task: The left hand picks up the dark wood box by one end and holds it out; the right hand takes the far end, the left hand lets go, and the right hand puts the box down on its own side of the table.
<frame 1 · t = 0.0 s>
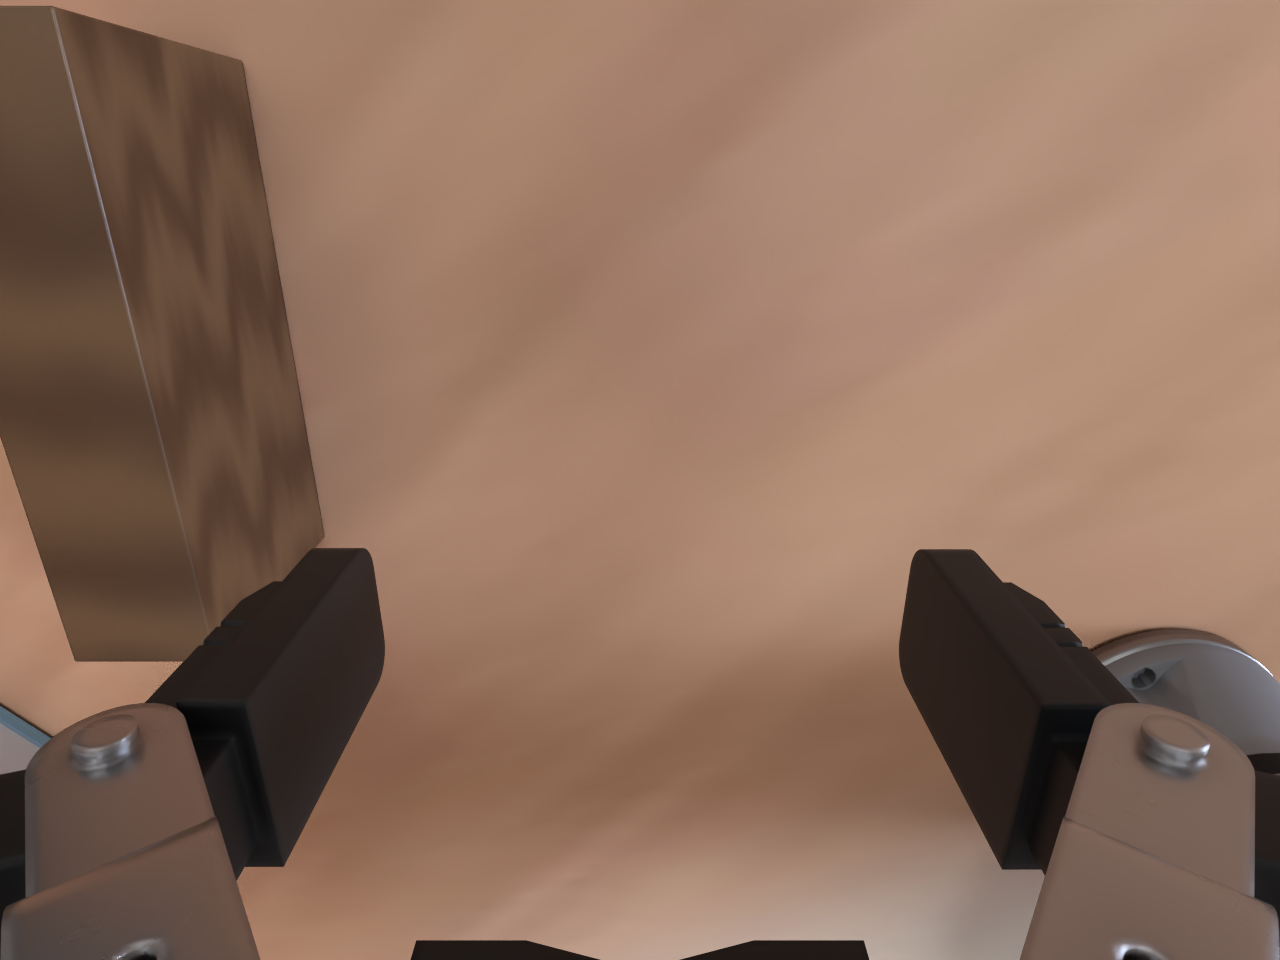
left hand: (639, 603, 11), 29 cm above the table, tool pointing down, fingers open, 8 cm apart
box: (229, 326, 39), on the table
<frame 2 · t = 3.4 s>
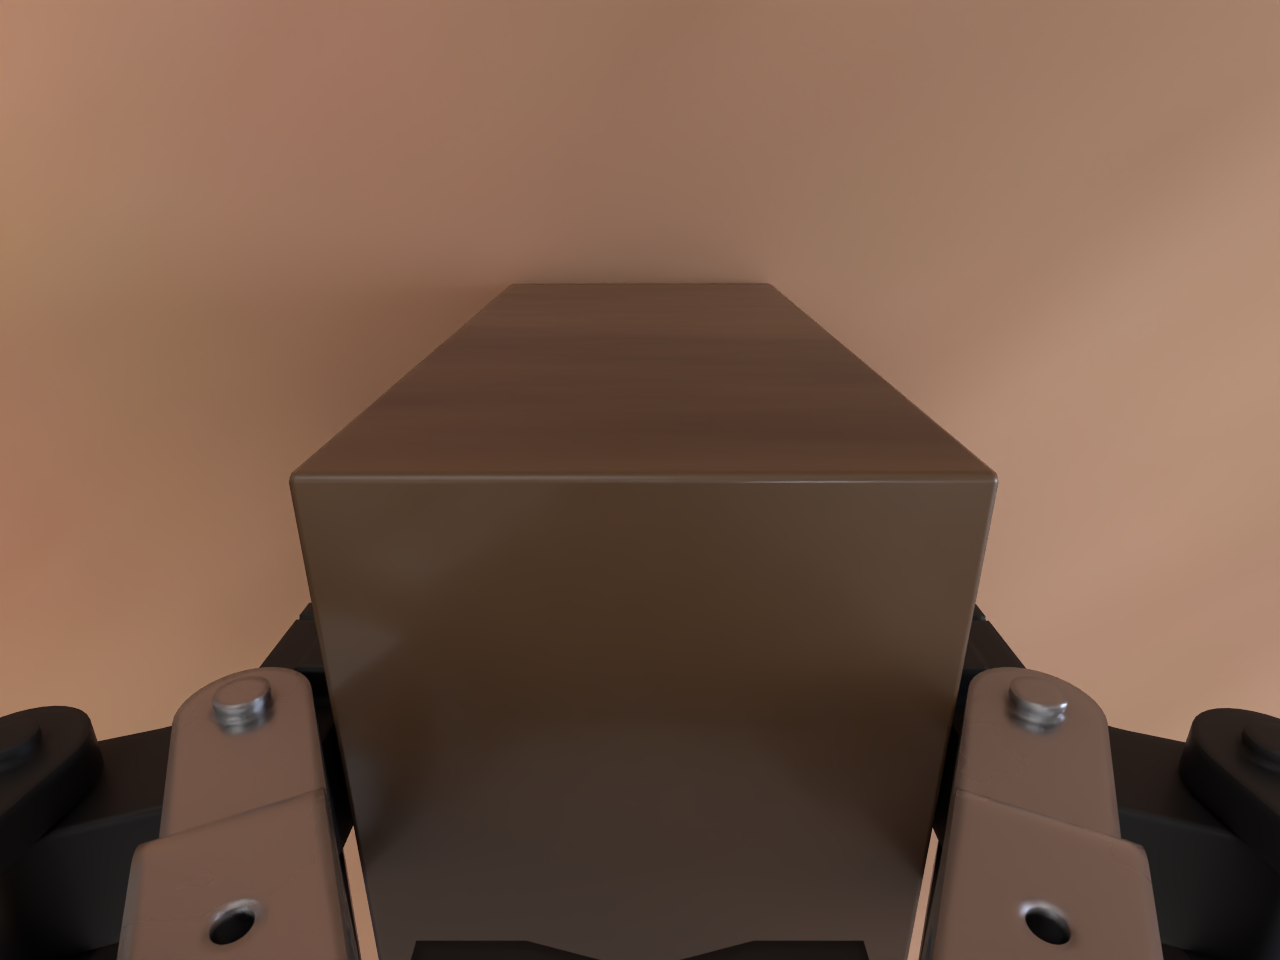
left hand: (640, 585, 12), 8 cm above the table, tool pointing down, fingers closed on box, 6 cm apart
box: (641, 708, 22), on the table, touching left hand
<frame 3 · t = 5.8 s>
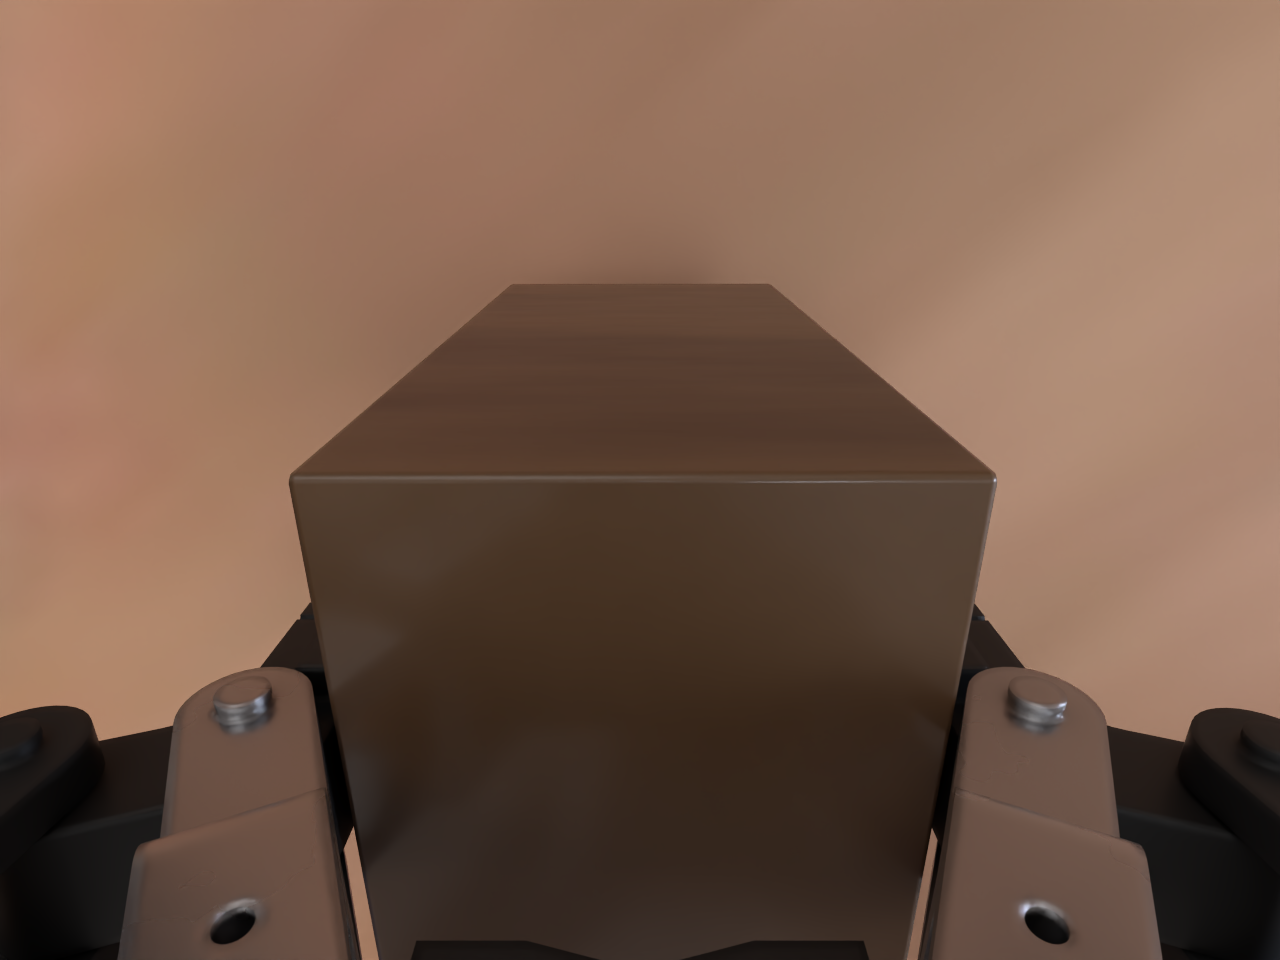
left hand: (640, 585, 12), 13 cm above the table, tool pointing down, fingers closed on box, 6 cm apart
box: (641, 708, 22), point 5 cm above the table, touching left hand
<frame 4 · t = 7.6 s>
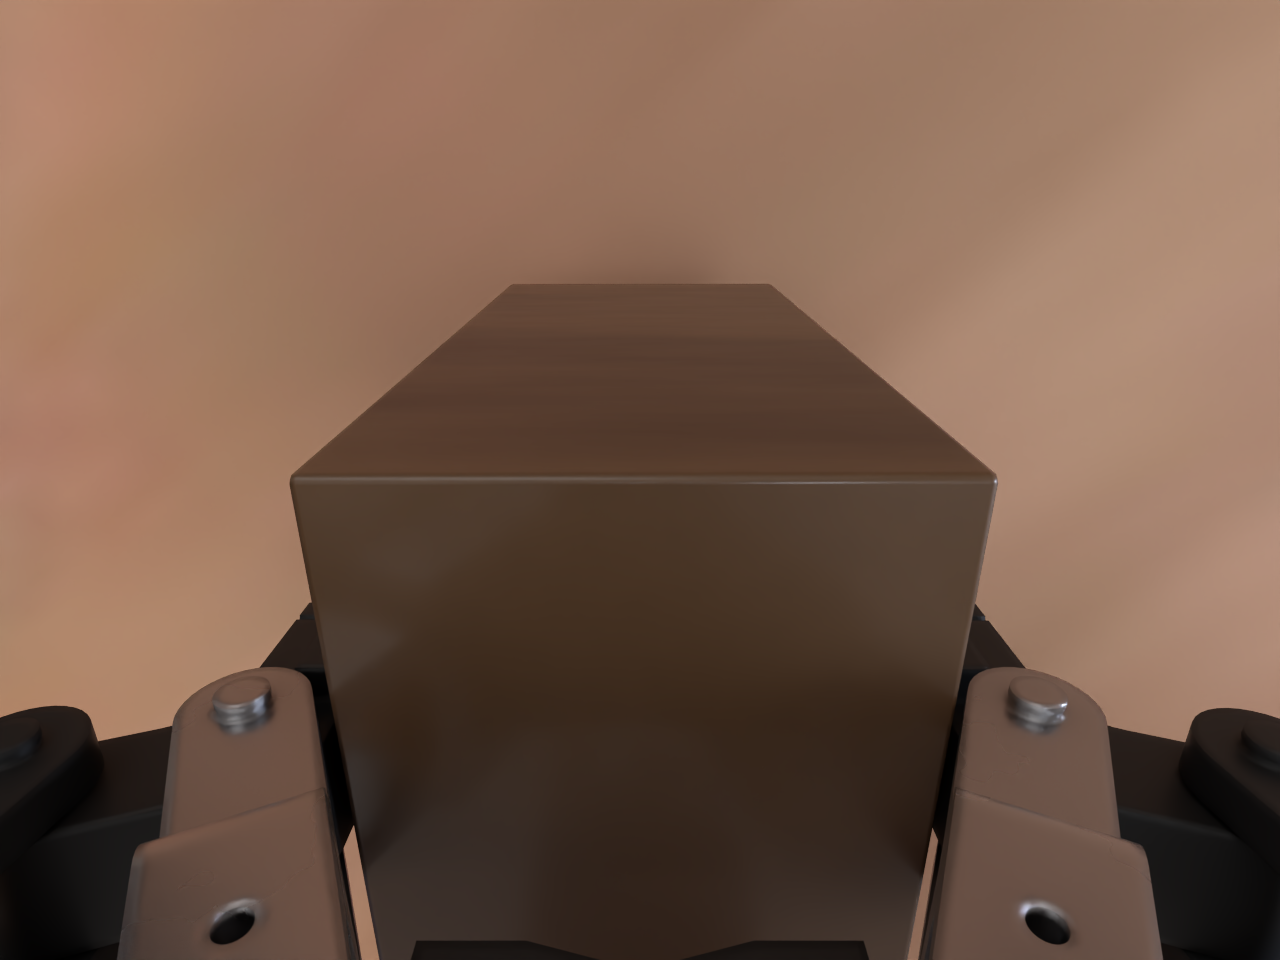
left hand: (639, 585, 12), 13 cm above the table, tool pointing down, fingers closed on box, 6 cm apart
box: (641, 708, 22), point 5 cm above the table, touching left hand, right hand
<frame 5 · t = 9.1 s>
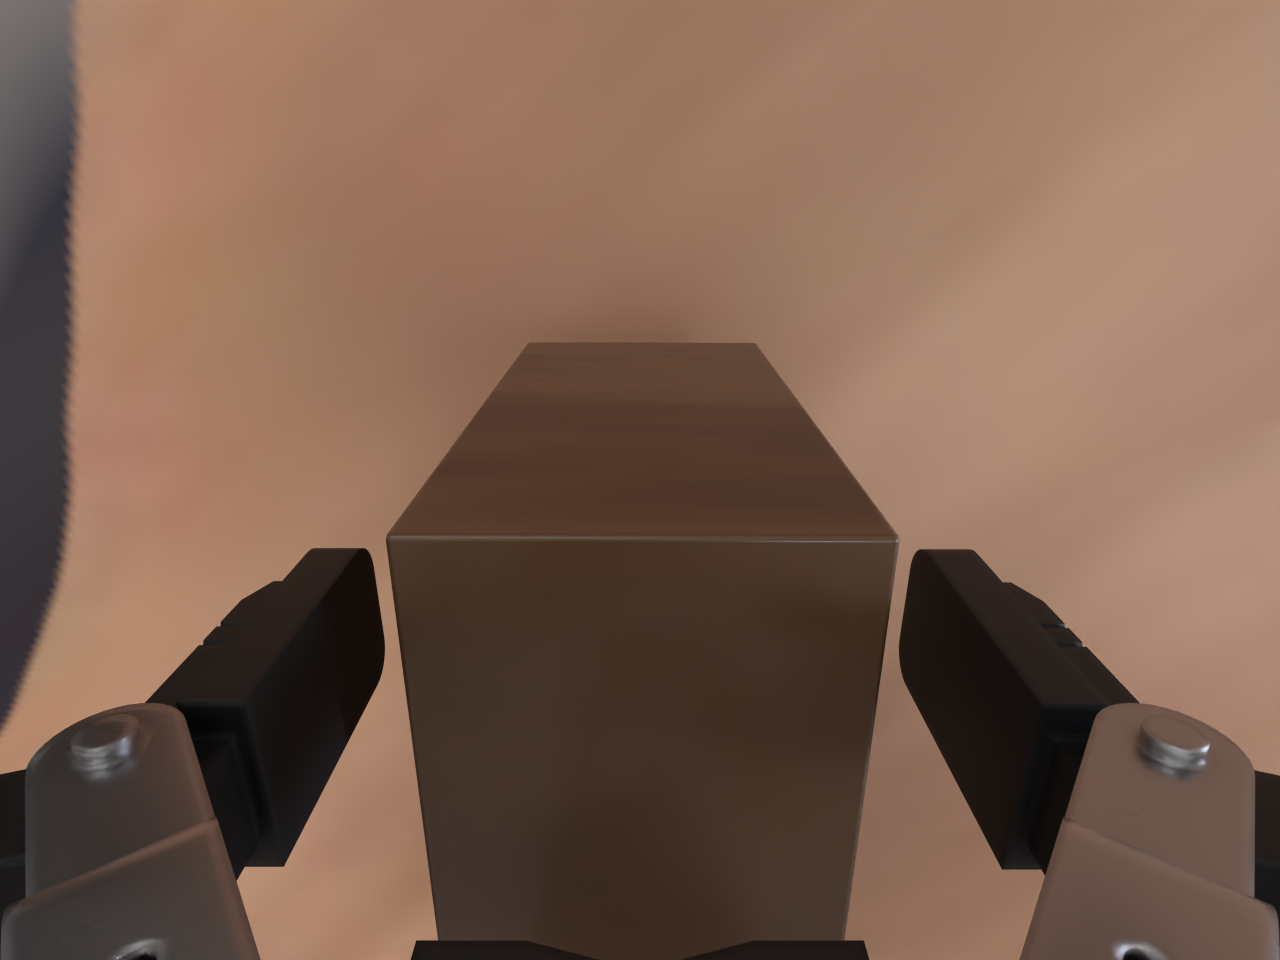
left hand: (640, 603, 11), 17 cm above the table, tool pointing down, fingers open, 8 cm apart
box: (640, 716, 24), point 7 cm above the table, touching right hand
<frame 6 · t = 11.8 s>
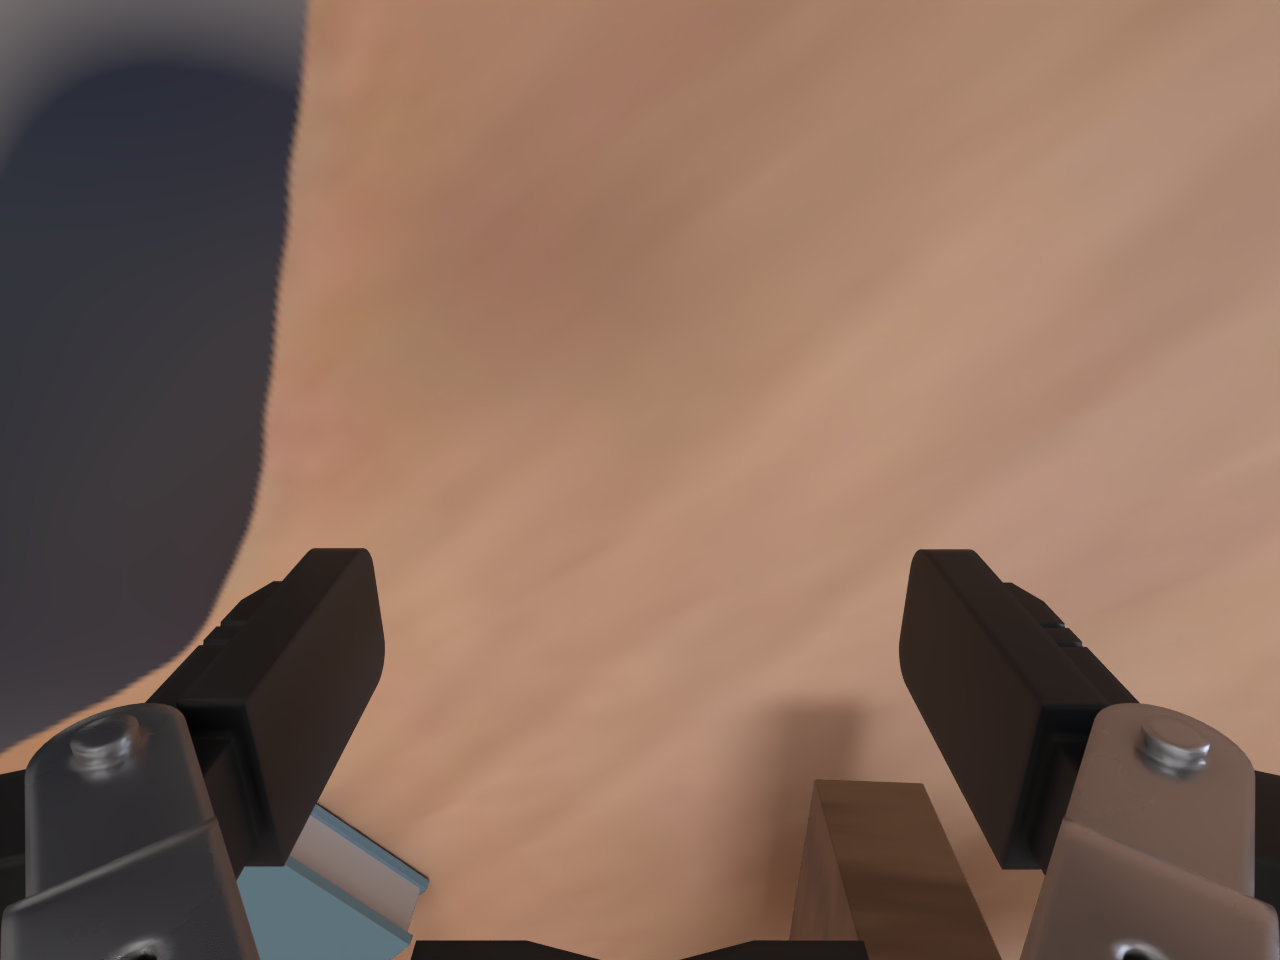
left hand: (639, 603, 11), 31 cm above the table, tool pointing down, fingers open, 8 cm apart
box: (839, 932, 47), point 8 cm above the table, touching right hand
book: (248, 899, 56), on the table
when the right hand's fingers open (4 cm above the table, at t = 16.2 s): box drops 1 cm, on the table.
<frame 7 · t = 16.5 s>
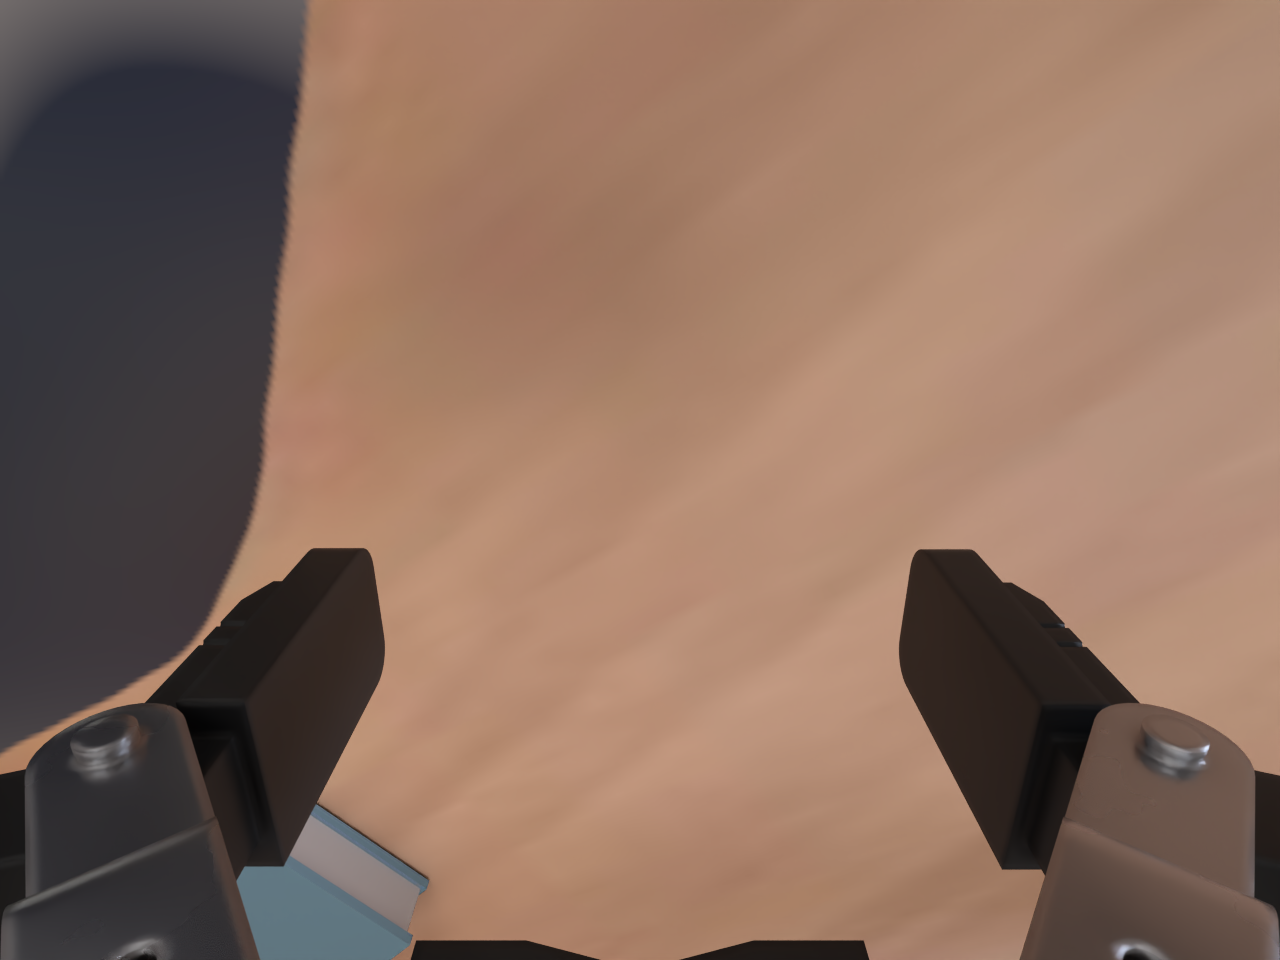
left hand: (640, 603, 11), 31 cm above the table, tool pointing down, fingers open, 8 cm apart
book: (248, 899, 56), on the table
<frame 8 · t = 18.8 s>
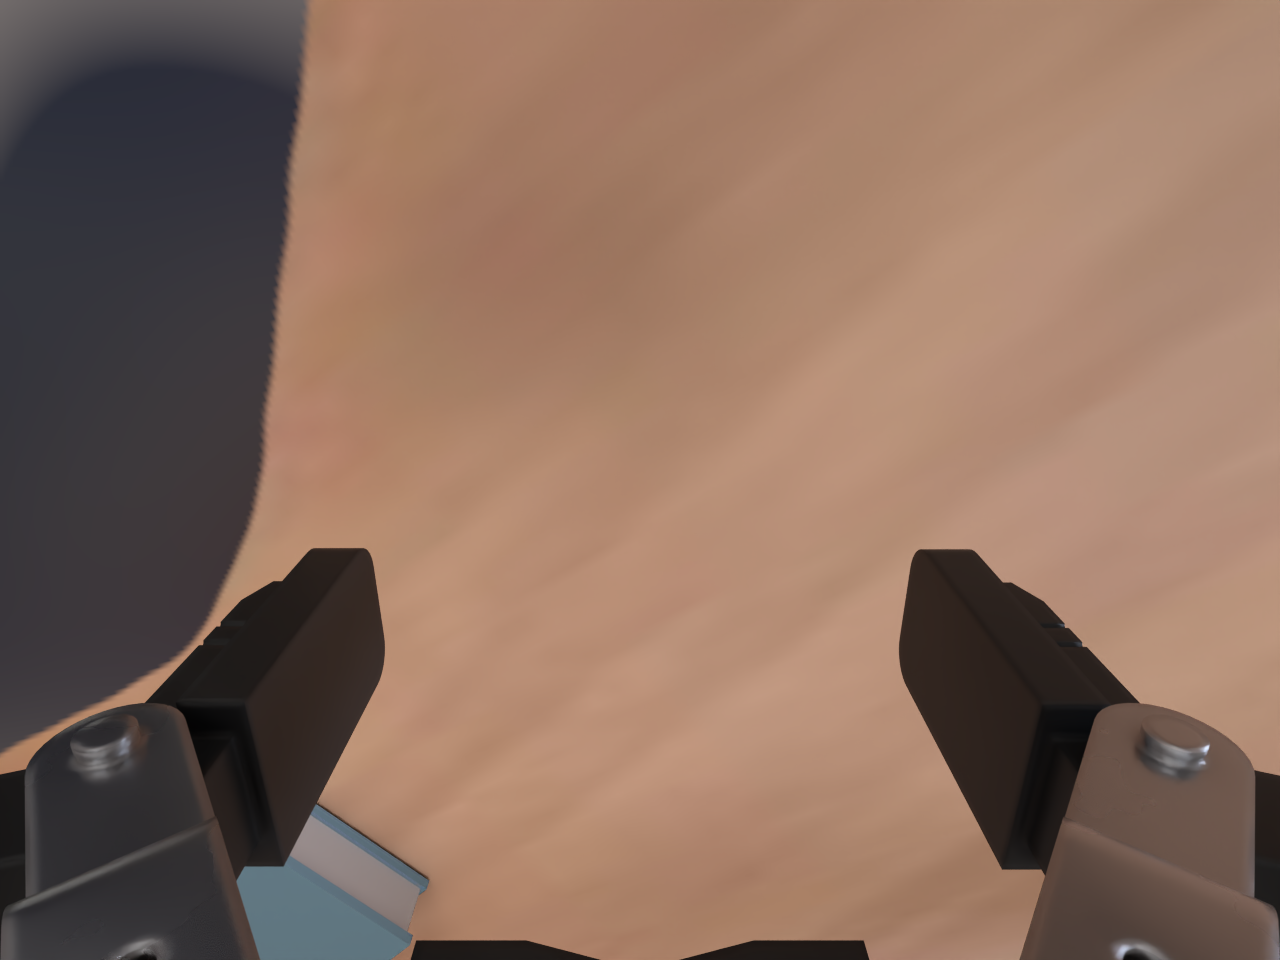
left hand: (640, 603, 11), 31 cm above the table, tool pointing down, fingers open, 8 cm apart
book: (248, 899, 56), on the table
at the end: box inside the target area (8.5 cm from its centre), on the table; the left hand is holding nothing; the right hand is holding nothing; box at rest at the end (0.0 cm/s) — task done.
